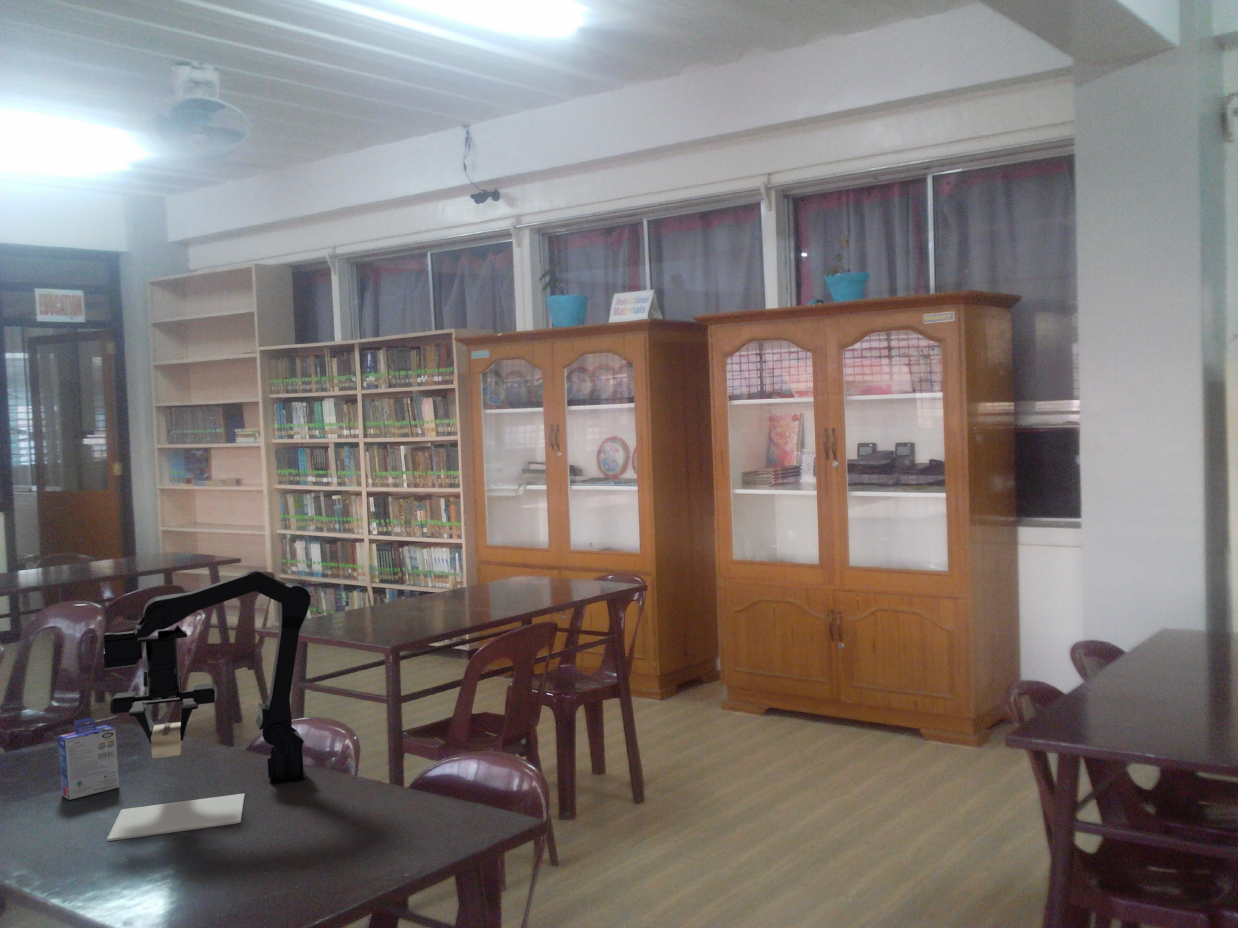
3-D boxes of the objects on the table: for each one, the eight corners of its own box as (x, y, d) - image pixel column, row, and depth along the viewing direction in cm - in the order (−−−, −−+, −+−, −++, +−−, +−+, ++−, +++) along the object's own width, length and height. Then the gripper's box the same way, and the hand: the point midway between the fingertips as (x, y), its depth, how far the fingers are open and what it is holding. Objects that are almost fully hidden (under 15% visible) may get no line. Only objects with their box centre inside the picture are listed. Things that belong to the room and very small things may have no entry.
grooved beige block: (180, 754, 206) (179, 732, 206) (152, 758, 205) (150, 736, 204) (182, 741, 216) (181, 720, 216) (155, 745, 214) (154, 724, 214)
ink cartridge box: (111, 782, 222) (107, 712, 222) (121, 787, 218) (117, 716, 218) (59, 795, 215) (55, 723, 215) (69, 801, 211) (64, 727, 211)
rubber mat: (244, 795, 210) (244, 793, 210) (240, 822, 195) (240, 820, 195) (121, 811, 204) (121, 809, 204) (107, 840, 188) (107, 838, 188)
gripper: (216, 650, 220) (221, 725, 220) (116, 659, 215) (121, 737, 215) (212, 660, 209) (217, 740, 210) (107, 670, 204) (112, 752, 205)
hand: (167, 741), depth 210 cm, fingers closed on grooved beige block, 5 cm apart
